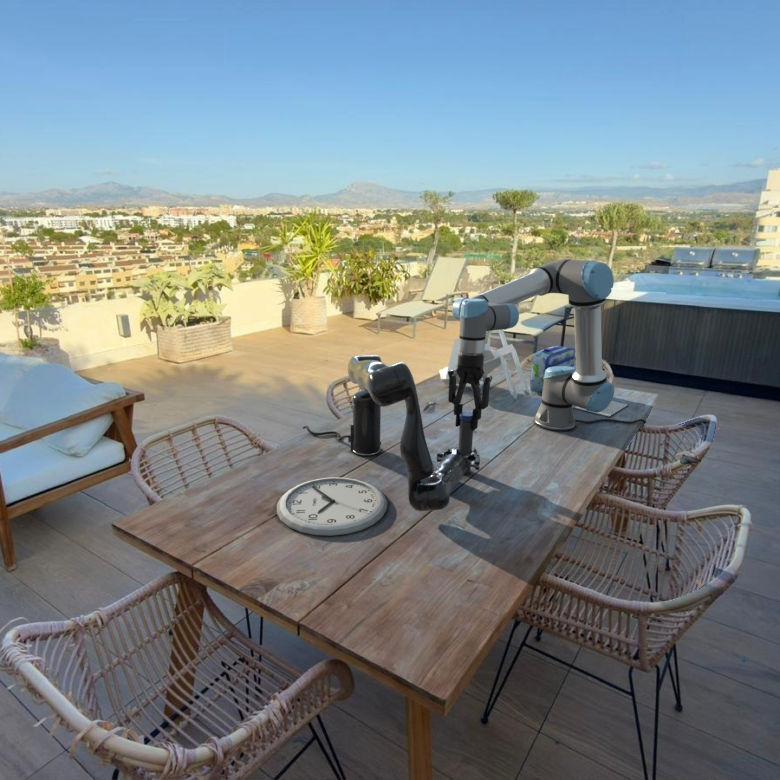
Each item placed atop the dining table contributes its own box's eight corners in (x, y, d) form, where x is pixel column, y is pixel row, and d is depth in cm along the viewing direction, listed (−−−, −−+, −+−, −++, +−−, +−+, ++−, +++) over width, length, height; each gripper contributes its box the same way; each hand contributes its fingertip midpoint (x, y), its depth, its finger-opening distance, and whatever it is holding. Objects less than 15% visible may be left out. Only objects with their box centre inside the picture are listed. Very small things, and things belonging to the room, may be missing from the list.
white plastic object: (461, 429, 252) (437, 405, 227) (444, 352, 274) (420, 323, 250) (535, 404, 240) (518, 377, 215) (510, 326, 262) (492, 293, 237)
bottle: (454, 471, 164) (457, 415, 158) (461, 467, 167) (465, 412, 161) (465, 475, 161) (469, 419, 156) (472, 471, 164) (476, 415, 159)
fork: (420, 411, 216) (420, 406, 216) (430, 400, 230) (431, 395, 230) (426, 412, 215) (426, 407, 215) (436, 401, 230) (436, 396, 229)
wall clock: (392, 527, 129) (268, 531, 127) (391, 533, 130) (269, 537, 127) (383, 473, 158) (282, 475, 155) (383, 478, 158) (282, 480, 156)
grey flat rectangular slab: (608, 416, 214) (573, 407, 224) (608, 416, 214) (573, 408, 224) (628, 404, 229) (594, 396, 238) (628, 405, 229) (594, 397, 238)
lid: (472, 422, 156) (473, 417, 155) (457, 420, 158) (457, 414, 157) (476, 417, 160) (476, 412, 159) (461, 415, 162) (461, 410, 161)
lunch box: (546, 399, 235) (551, 353, 228) (525, 393, 242) (530, 349, 236) (574, 387, 252) (579, 345, 246) (553, 383, 260) (558, 341, 253)
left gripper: (474, 464, 146) (490, 442, 161) (426, 454, 152) (446, 434, 166) (472, 488, 148) (488, 465, 163) (426, 478, 154) (445, 456, 169)
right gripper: (504, 354, 151) (498, 429, 158) (449, 346, 160) (446, 417, 167) (494, 359, 145) (488, 437, 152) (438, 350, 154) (435, 424, 161)
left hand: (467, 449), depth 165 cm, fingers closed on bottle, 4 cm apart
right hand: (466, 426), depth 160 cm, fingers closed on lid, 5 cm apart
